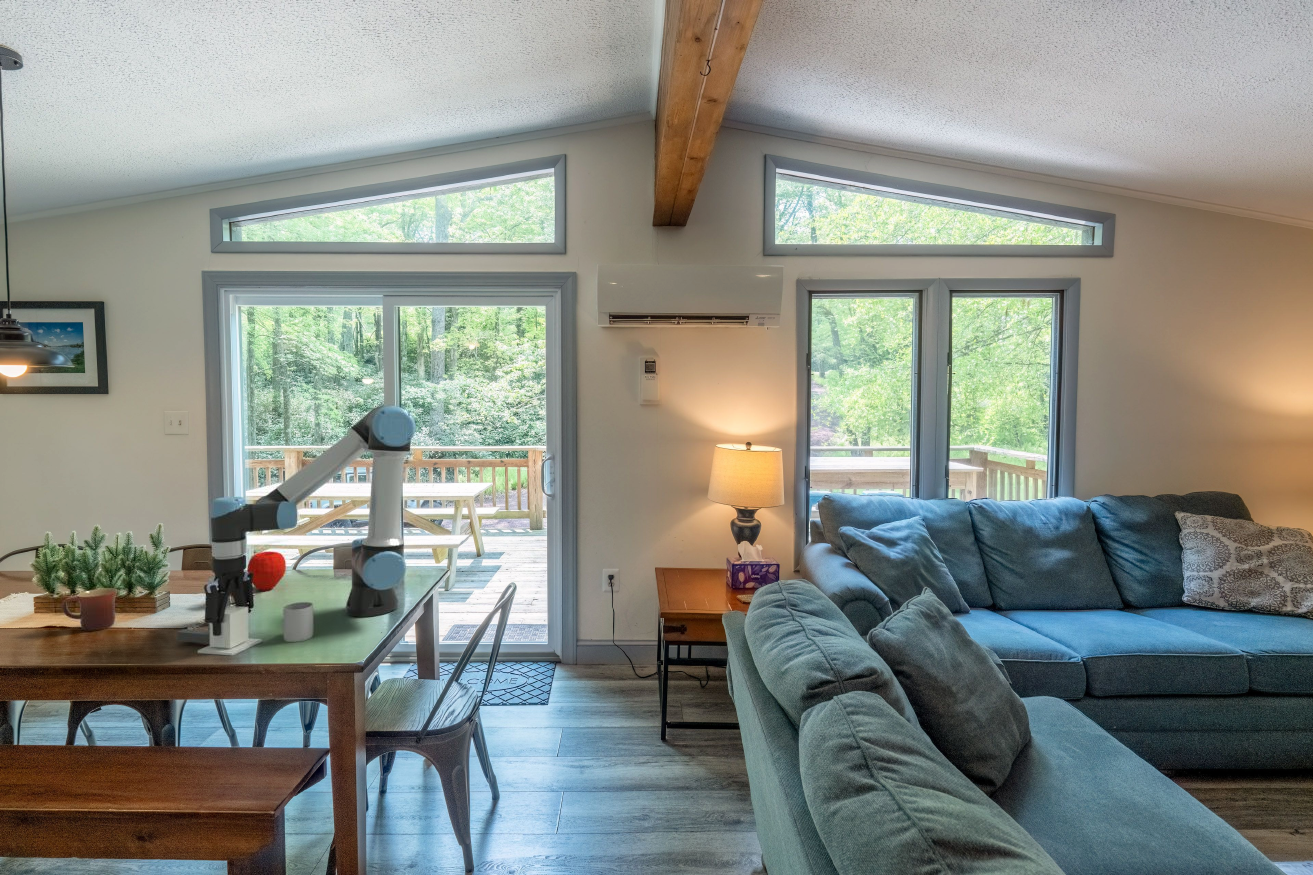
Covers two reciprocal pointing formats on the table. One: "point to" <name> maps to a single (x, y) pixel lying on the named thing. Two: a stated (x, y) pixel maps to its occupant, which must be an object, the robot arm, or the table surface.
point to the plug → (234, 629)
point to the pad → (232, 650)
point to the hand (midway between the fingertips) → (230, 641)
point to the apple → (266, 569)
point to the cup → (298, 621)
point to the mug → (94, 608)
